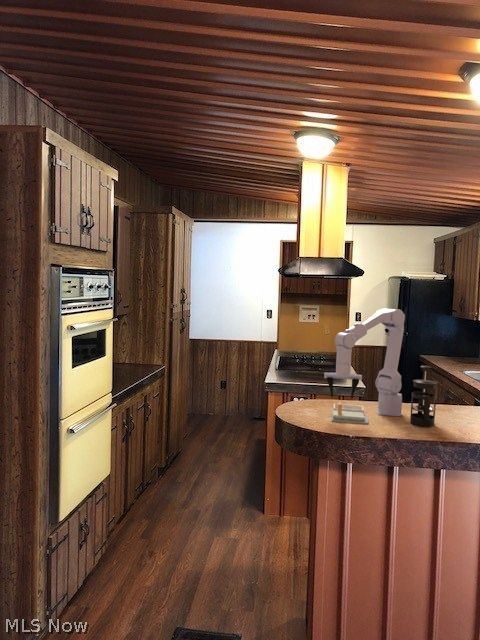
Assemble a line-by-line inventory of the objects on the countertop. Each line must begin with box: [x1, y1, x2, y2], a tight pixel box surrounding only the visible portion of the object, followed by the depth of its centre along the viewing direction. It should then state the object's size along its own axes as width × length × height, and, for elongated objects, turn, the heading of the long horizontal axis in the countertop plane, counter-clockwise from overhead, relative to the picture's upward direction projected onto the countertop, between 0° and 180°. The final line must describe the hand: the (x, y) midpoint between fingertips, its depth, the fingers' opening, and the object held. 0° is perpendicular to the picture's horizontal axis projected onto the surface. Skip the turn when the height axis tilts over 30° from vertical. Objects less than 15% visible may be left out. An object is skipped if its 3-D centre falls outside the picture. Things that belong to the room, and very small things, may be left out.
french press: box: [409, 365, 438, 428], centre depth 209 cm, size 12×9×23 cm
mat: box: [330, 413, 370, 425], centre depth 213 cm, size 14×10×1 cm
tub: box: [332, 403, 365, 414], centre depth 223 cm, size 12×8×2 cm, turn 81°
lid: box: [332, 401, 365, 421], centre depth 212 cm, size 12×8×6 cm, turn 81°
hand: (341, 397), depth 212 cm, fingers open, 7 cm apart
